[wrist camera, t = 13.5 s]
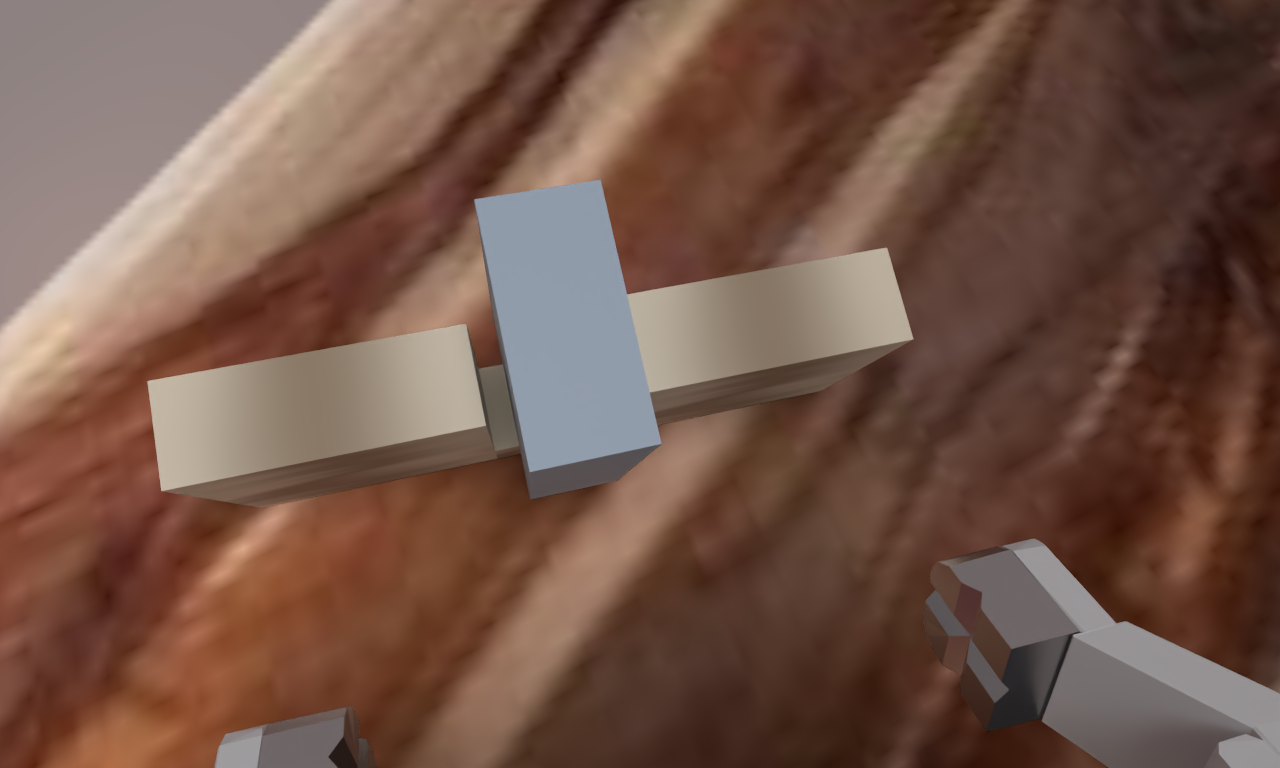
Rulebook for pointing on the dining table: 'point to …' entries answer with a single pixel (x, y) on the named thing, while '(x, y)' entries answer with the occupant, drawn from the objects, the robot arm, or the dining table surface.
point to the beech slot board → (478, 398)
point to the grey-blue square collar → (566, 337)
